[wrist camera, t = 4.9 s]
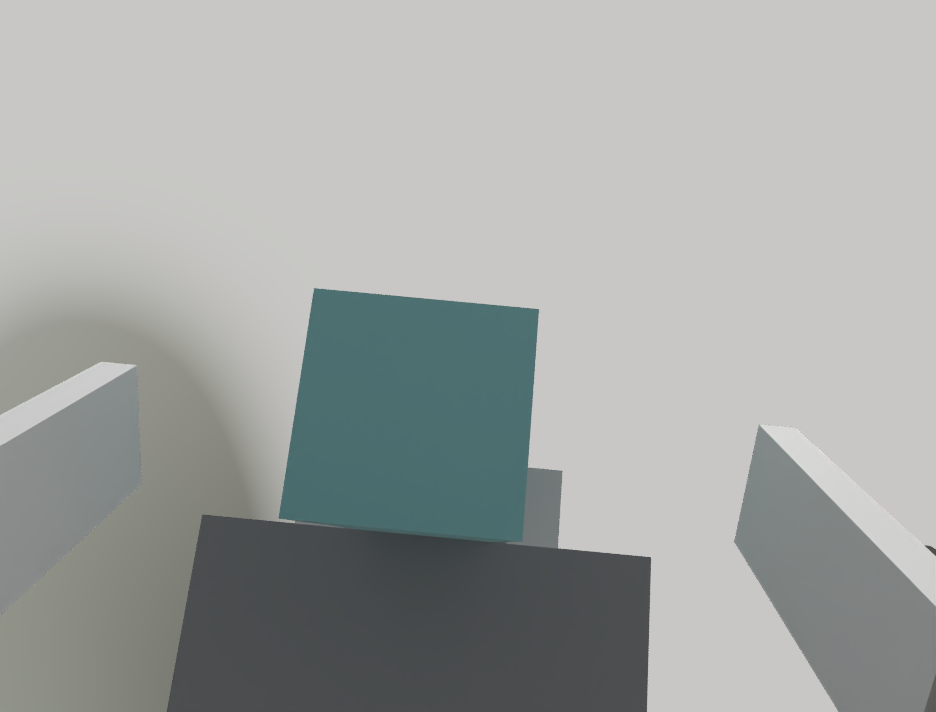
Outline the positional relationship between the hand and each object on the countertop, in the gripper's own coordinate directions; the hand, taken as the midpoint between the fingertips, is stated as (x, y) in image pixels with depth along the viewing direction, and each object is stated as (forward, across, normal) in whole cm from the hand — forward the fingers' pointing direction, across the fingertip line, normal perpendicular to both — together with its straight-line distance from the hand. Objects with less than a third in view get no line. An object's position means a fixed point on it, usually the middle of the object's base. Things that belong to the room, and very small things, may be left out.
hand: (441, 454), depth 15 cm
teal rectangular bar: (+8, 0, -6) cm, 10 cm away
